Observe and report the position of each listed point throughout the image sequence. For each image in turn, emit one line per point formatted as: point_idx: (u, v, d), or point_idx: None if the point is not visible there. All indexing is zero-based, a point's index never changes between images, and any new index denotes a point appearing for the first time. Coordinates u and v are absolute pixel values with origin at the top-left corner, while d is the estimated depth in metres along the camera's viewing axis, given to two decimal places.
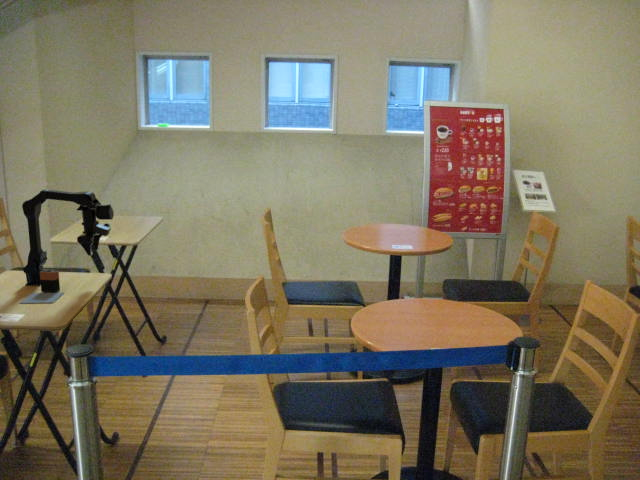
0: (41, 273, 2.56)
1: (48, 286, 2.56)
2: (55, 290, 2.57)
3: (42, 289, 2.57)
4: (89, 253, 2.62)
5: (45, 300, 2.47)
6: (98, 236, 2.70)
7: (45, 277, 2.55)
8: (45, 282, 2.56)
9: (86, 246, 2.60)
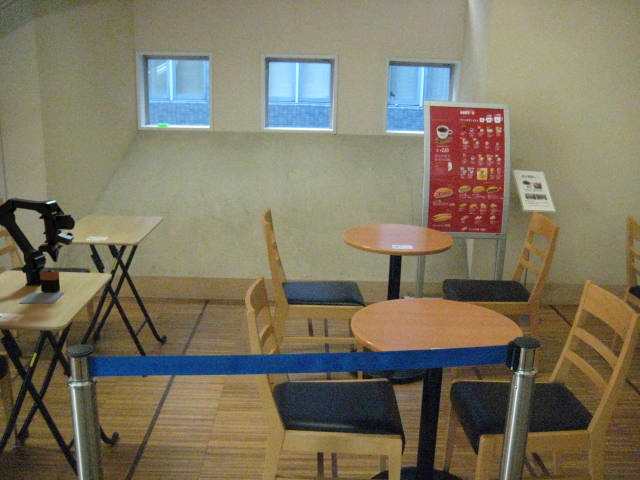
0: (41, 273, 2.56)
1: (48, 286, 2.56)
2: (55, 290, 2.57)
3: (42, 289, 2.57)
4: (55, 260, 2.63)
5: (45, 300, 2.47)
6: (57, 247, 2.63)
7: (45, 277, 2.55)
8: (45, 282, 2.56)
9: (52, 253, 2.62)
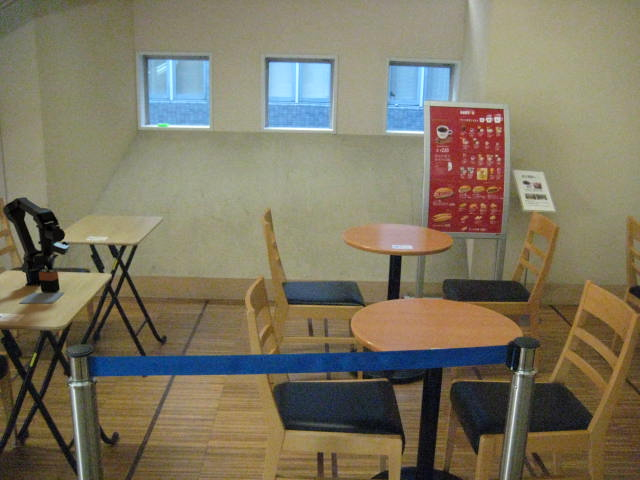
0: (40, 273, 2.55)
1: (48, 286, 2.56)
2: (55, 290, 2.57)
3: (42, 289, 2.57)
4: (51, 269, 2.59)
5: (45, 300, 2.47)
6: None
7: (44, 277, 2.55)
8: (44, 282, 2.56)
9: (47, 262, 2.57)
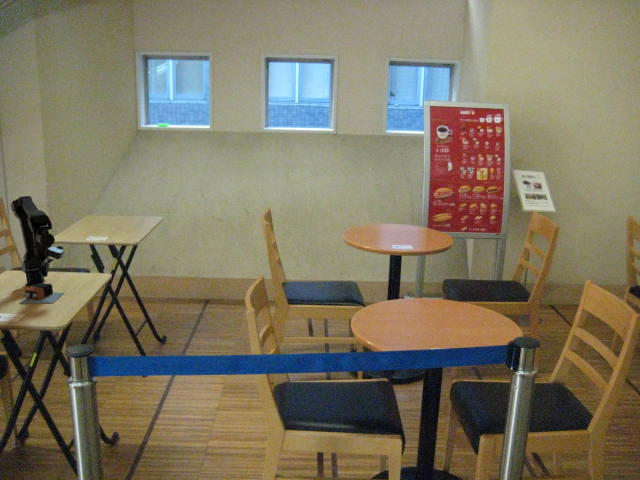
0: (28, 298, 2.49)
1: None
2: (51, 291, 2.54)
3: None
4: (45, 274, 2.53)
5: (45, 300, 2.47)
6: (47, 262, 2.53)
7: None
8: None
9: (42, 267, 2.51)
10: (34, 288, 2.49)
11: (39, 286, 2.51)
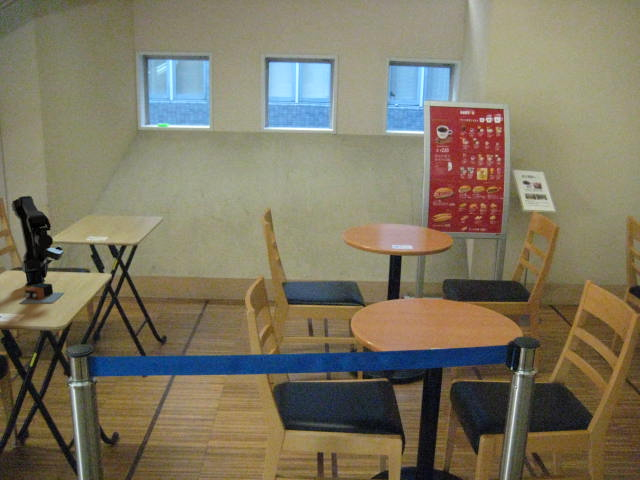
0: (28, 298, 2.49)
1: None
2: (51, 291, 2.54)
3: None
4: (44, 275, 2.52)
5: (45, 300, 2.47)
6: (46, 263, 2.52)
7: None
8: None
9: (40, 268, 2.50)
10: (34, 288, 2.49)
11: (39, 286, 2.51)
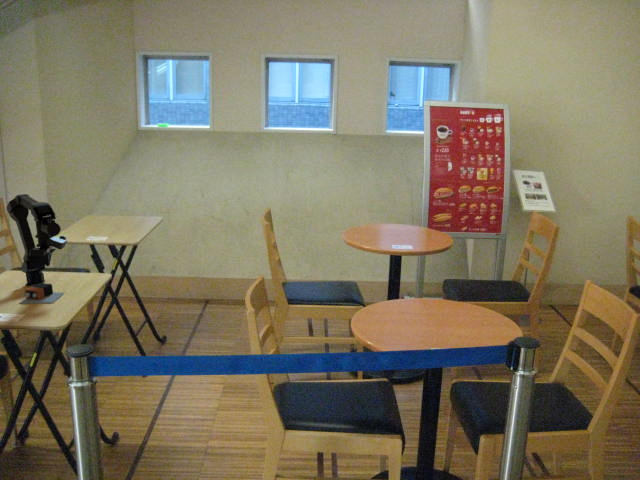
0: (28, 298, 2.49)
1: None
2: (51, 291, 2.54)
3: None
4: (47, 264, 2.56)
5: (45, 300, 2.47)
6: (50, 251, 2.56)
7: None
8: None
9: (44, 257, 2.54)
10: (34, 288, 2.49)
11: (39, 286, 2.51)
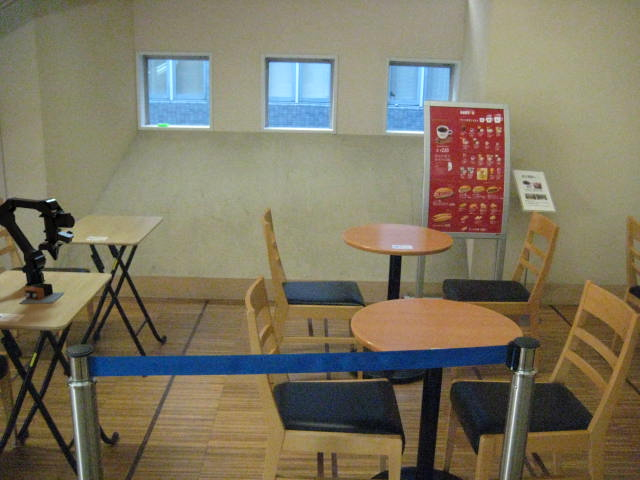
0: (28, 298, 2.49)
1: None
2: (51, 291, 2.54)
3: None
4: (55, 258, 2.63)
5: (45, 300, 2.47)
6: (57, 246, 2.63)
7: None
8: None
9: (52, 251, 2.62)
10: (34, 288, 2.49)
11: (39, 286, 2.51)
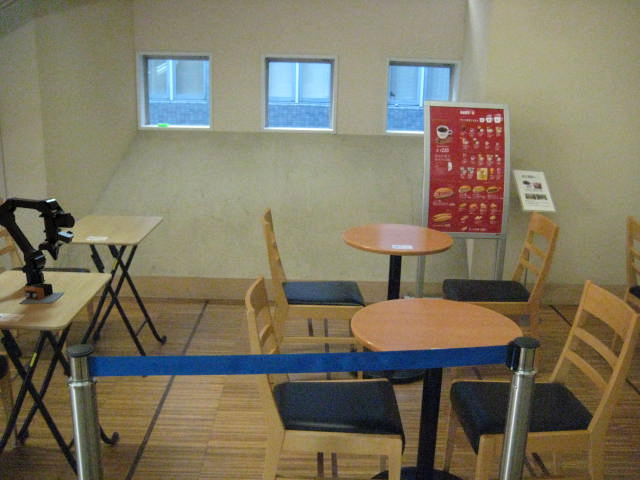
0: (28, 298, 2.49)
1: None
2: (51, 291, 2.54)
3: None
4: (55, 258, 2.63)
5: (45, 300, 2.47)
6: (57, 246, 2.63)
7: None
8: None
9: (52, 251, 2.62)
10: (34, 288, 2.49)
11: (39, 286, 2.51)
